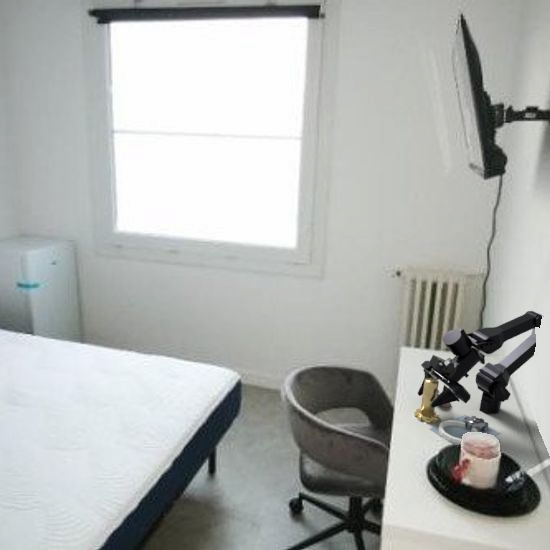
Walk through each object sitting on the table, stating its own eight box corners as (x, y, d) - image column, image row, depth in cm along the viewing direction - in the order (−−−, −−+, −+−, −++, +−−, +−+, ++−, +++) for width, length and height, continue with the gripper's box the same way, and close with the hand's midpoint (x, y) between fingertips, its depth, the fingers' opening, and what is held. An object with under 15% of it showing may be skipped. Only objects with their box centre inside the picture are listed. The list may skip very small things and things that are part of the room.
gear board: (464, 417, 157) (465, 410, 157) (499, 436, 148) (501, 429, 147) (428, 432, 148) (429, 425, 147) (463, 453, 138) (465, 446, 138)
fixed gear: (472, 418, 155) (473, 411, 154) (492, 428, 150) (493, 421, 149) (458, 424, 151) (459, 416, 151) (478, 435, 146) (479, 427, 145)
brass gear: (424, 411, 160) (429, 373, 156) (443, 422, 154) (449, 383, 151) (409, 417, 156) (414, 378, 152) (427, 428, 150) (433, 388, 147)
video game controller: (422, 400, 170) (417, 384, 167) (433, 393, 171) (428, 377, 168) (441, 415, 161) (436, 398, 158) (453, 407, 162) (447, 391, 159)
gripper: (430, 336, 158) (394, 371, 158) (467, 360, 141) (428, 400, 141) (448, 357, 163) (413, 391, 162) (487, 384, 145) (448, 422, 145)
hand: (424, 400), depth 153 cm, fingers open, 7 cm apart
